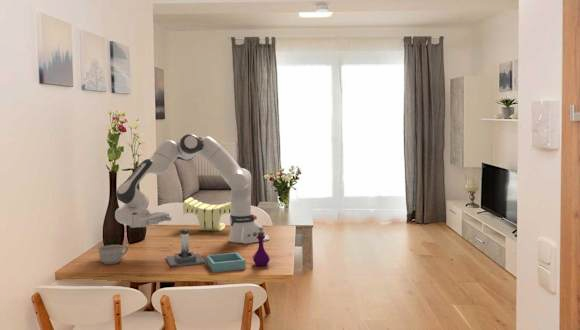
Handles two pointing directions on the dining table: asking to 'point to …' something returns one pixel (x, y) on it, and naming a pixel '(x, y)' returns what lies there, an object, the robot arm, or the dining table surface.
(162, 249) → the dining table surface
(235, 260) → the tray
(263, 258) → the perfume bottle
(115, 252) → the teacup
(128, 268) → the dining table surface
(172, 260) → the tensioner plate
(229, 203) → the slatted curved stool
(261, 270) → the dining table surface
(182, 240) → the lock pin
